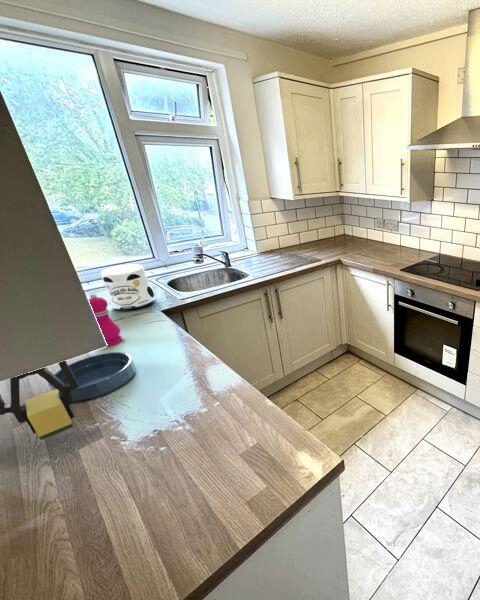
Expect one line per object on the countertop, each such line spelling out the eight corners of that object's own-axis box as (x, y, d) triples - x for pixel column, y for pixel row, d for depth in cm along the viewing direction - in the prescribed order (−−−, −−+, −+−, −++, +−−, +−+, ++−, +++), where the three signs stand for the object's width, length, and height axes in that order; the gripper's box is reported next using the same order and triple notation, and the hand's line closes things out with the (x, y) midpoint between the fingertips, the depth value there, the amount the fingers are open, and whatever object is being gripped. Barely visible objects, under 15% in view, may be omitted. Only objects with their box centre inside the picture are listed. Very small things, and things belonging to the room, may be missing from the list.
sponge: (37, 422, 79) (24, 400, 76) (68, 410, 83) (57, 388, 80) (40, 440, 74) (27, 416, 71) (73, 426, 78) (61, 403, 75)
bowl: (36, 401, 95) (28, 387, 93) (98, 363, 112) (92, 350, 110) (98, 405, 93) (92, 391, 91) (150, 365, 111) (146, 353, 109)
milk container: (121, 316, 145) (107, 278, 138) (105, 307, 154) (91, 271, 147) (163, 302, 159) (152, 267, 152) (146, 295, 167) (135, 261, 160)
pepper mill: (104, 339, 127) (84, 291, 119) (126, 336, 129) (108, 289, 121) (96, 349, 121) (74, 299, 113) (119, 345, 123) (100, 296, 115)
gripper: (-65, 364, 60) (-5, 455, 70) (71, 328, 73) (106, 409, 82) (-62, 349, 65) (-5, 436, 74) (66, 318, 78) (100, 396, 87)
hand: (53, 422), depth 78 cm, fingers closed on sponge, 5 cm apart
